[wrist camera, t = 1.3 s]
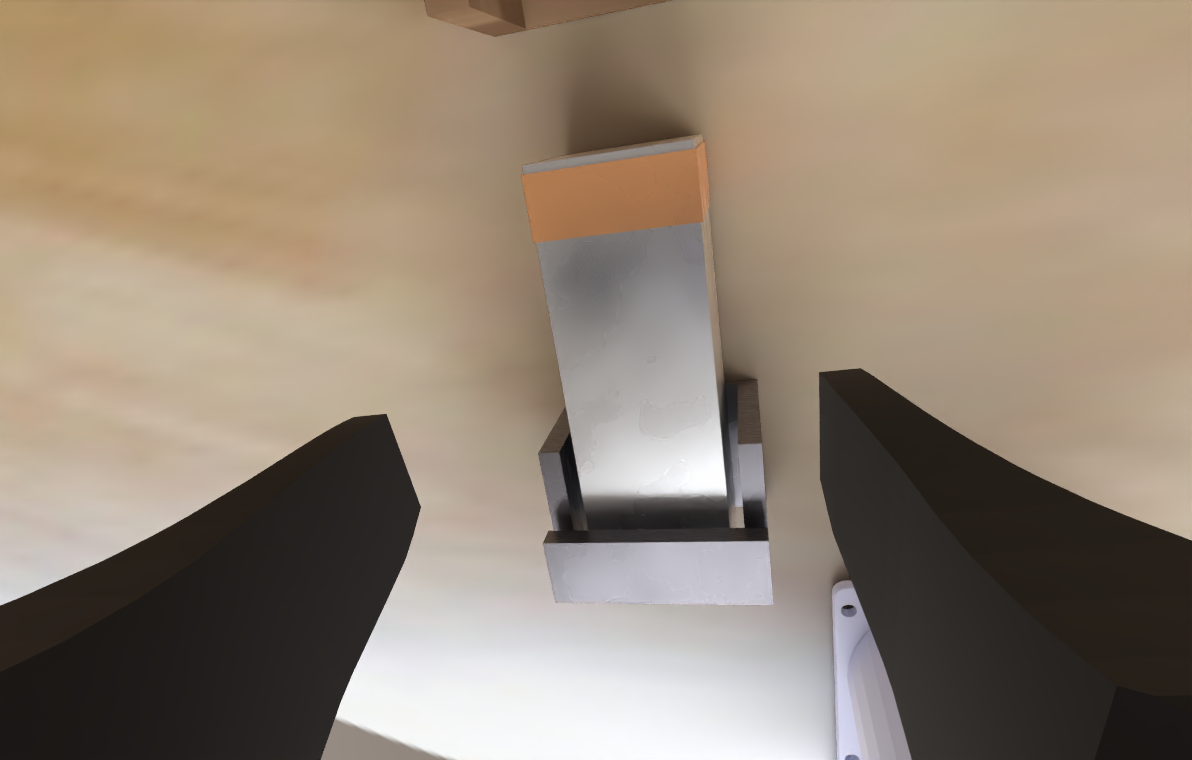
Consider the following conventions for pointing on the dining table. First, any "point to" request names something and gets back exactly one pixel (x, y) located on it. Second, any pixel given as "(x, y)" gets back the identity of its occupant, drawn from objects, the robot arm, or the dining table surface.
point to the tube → (637, 331)
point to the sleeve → (662, 532)
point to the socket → (522, 12)
